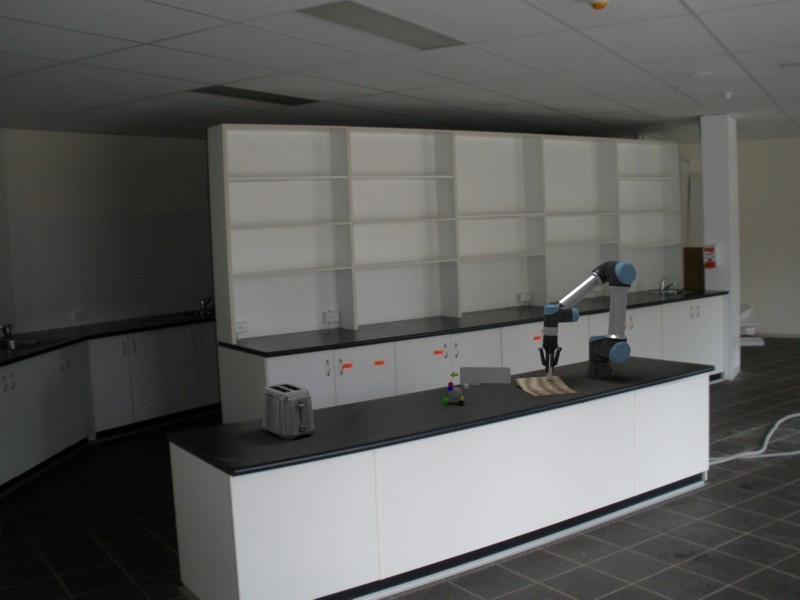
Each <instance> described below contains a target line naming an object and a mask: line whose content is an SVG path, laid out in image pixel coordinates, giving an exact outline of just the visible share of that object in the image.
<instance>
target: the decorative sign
mask: <svg viewBox="0 0 800 600" xmlns="http://www.w3.org/2000/svg"><path fill="white" fill-rule="evenodd" d="M449 376H450V377H451V378H455V377H458V376H459V384H460V386H464V384H466V383H467V384H468V385H469V386H483V384H505V385H507V384H511V367H509V366H497V365H495V366H483V365H480V366H475V365H474V366H473V365H471V366H470V365H464V366H460V367H459V373H457V372H455V371H452V372H451V373H450V374H449ZM475 382H476V383H475ZM470 383H471V384H470Z"/></svg>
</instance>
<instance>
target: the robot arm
mask: <svg viewBox="0 0 800 600" xmlns="http://www.w3.org/2000/svg"><path fill="white" fill-rule="evenodd" d="M636 277H637V270H636V268H635V267H634V266H633V264H632V263H631V262H627V261H618V260H617V261H616V260H607V261H606V262H602V263H601V264H599V265H598V266H596V267H595V268H594V269H593V270H591V271H590V272H589V273H588V276H587V277H586V278H584V279H583V280H581V282H579V283H578V284H577V285H576V286H575V287H573V288H572V289H571V290H570V291H568V292H567V293H566V294H565V295H564V296H562V297H560V299H558V300H557V301H556V302H555V303H554V304H545V305H544V308H543V325H542V326H543V329H542V331H543V332H542V333H543V334H542V345H541V346H540V347H538V348H537V350H538V351H539V356H540V361H541V365H542V366H544V367H545V371H544V372H545V373H546V376H547V379H548V380H552V376H553V374H554V369H555V367H556V366H558V363H559V358H560V355H561V351H562V350H563V348H562V346H559V344H558V340H559V335H558V334H559V324H560V323H562V324H563V323H577V322H578V321H579V319H580V312H579V310H578V308H576V307H575V306H576V304H578V303H579V302H581V301H582V300H583V299H584V298H585V297H587V296H588V295H589V294H590V293H592V292H593V291H594V290H595V289H596V288H598V287H602V286H603V285H605V284H608V287H609V289H610V302H609V315H608V326H607V327H608V328H607V329H608V330H607V334H606V335H605V334H604V335H603V334H602V335H600V334H599V335H591V336H590V337H589V338H588V339H589V340H588V363H587V367H586V370H585V377H586V378H590V379H594V380H595V379H598V380H599V379H601V380H605V379H606V380H607V379H612V378H614V370H613V367H612V363H618V364H620V363H621V364H622V363H624V362H626V361H627V360H628V359H629V358H630V355H631V353H632V352H631V351H632V350H631V346H630V344H629V343H628V337H627V336H626V334H625V332H626V320H627V319H626V317H627V303H628V293H629V291H628V290H630V289H631V287H632V283H634V281H636V279H637V278H636ZM544 352H545V353H544ZM611 362H612V363H611Z"/></svg>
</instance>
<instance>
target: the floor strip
mask: <svg viewBox="0 0 800 600" xmlns="http://www.w3.org/2000/svg"><path fill="white" fill-rule="evenodd" d="M527 393H528V394H529V395H532V396H534V397H537V396H548V395H549V396H551V395H561V394H562V395H563V394H574V393H578V394H579V391H577V390H575V389H572V388H570V387H569V388H566V389H553V390H540V391H527Z"/></svg>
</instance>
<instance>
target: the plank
mask: <svg viewBox="0 0 800 600" xmlns="http://www.w3.org/2000/svg"><path fill="white" fill-rule="evenodd" d="M515 383H517V384H518V386H519V387H520V388H521V389H522V390H523V391H524V392H526V393H528V391H541V390H554V389H566V388H570V387H569V386H568V385H567V384H566V383H565V382H564V380H563V379H562V378H561V377H560V376H558V375H552V380H548V379H547V375H546V376H535V377H522V378H521V377H520V378H515Z"/></svg>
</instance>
